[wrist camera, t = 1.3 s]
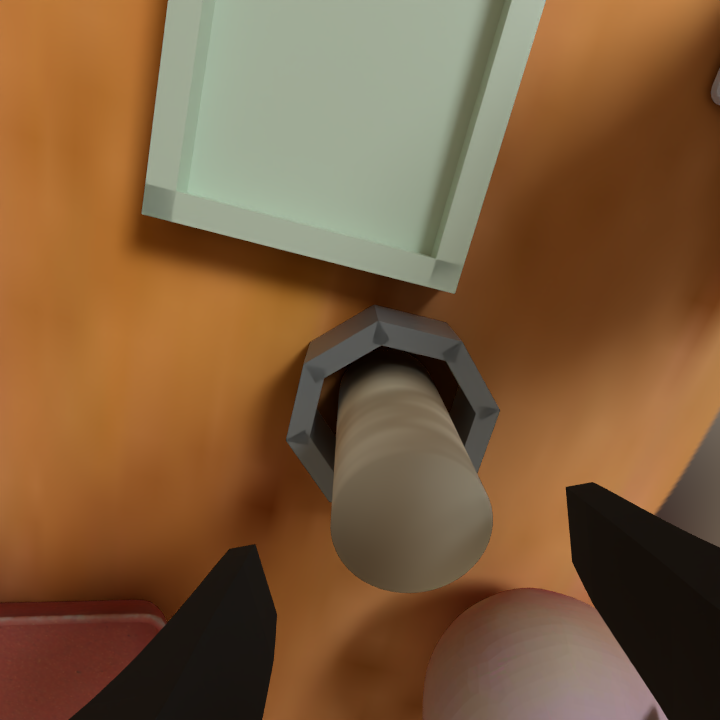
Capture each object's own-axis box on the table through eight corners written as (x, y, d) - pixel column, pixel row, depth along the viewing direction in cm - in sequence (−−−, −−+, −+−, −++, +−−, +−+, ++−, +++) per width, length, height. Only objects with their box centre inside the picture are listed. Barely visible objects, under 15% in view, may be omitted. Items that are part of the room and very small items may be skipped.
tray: (552, -73, 16) (579, -109, 14) (444, 285, 20) (454, 293, 18) (216, -184, 15) (197, -239, 13) (163, 213, 19) (141, 213, 17)
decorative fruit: (484, 499, 22) (583, 715, 13) (621, 578, 24) (803, 826, 14) (371, 641, 25) (384, 915, 15) (502, 706, 26) (591, 994, 16)
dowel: (446, 362, 21) (515, 473, 12) (419, 447, 22) (464, 605, 13) (351, 339, 20) (352, 436, 12) (329, 427, 21) (314, 576, 13)
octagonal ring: (495, 334, 20) (519, 355, 17) (443, 487, 22) (457, 529, 19) (321, 291, 20) (317, 305, 17) (284, 452, 22) (274, 490, 19)
